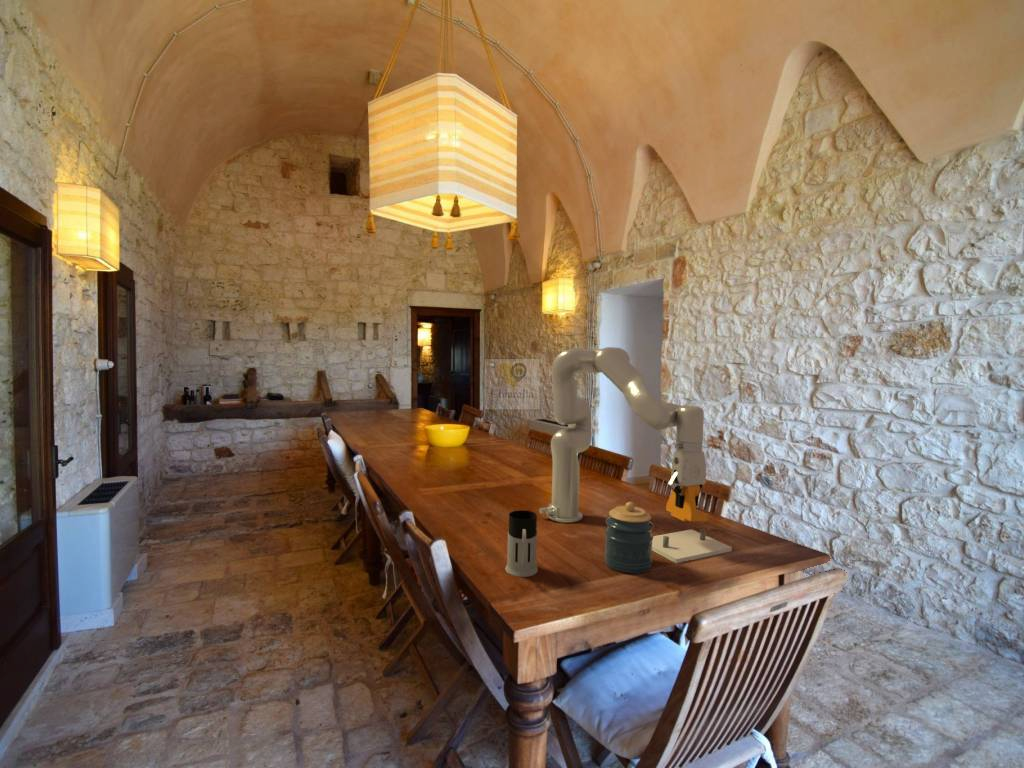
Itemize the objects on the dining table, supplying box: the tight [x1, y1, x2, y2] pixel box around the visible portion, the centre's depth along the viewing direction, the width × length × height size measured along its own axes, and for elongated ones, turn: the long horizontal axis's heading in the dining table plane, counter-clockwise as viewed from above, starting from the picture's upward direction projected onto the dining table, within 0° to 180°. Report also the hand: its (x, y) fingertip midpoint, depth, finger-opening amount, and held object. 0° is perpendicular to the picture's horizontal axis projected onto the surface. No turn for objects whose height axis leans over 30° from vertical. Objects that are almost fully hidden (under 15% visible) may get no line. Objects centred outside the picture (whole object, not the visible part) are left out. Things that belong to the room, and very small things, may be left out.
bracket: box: [665, 483, 709, 522], centre depth 149 cm, size 11×7×12 cm, turn 23°
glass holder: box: [504, 509, 538, 578], centre depth 129 cm, size 9×14×15 cm, turn 2°
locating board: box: [652, 528, 733, 564], centre depth 149 cm, size 22×16×4 cm
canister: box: [603, 501, 654, 574], centre depth 136 cm, size 13×13×18 cm
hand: (686, 505), depth 149 cm, fingers closed on bracket, 4 cm apart
